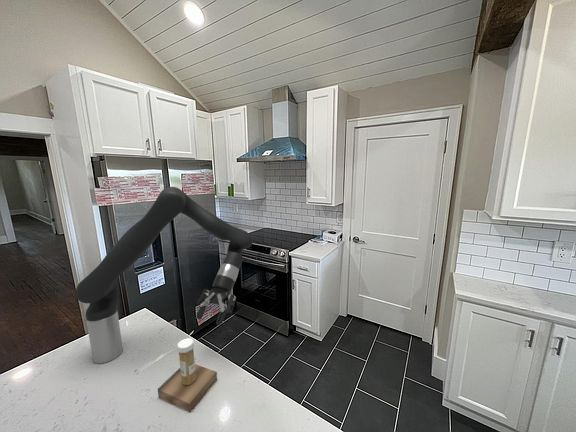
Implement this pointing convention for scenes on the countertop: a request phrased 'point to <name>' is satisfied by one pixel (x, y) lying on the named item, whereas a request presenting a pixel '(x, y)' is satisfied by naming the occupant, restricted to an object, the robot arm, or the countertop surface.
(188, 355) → the sprinkles bottle
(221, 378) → the countertop surface
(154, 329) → the countertop surface
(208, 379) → the walnut dock
